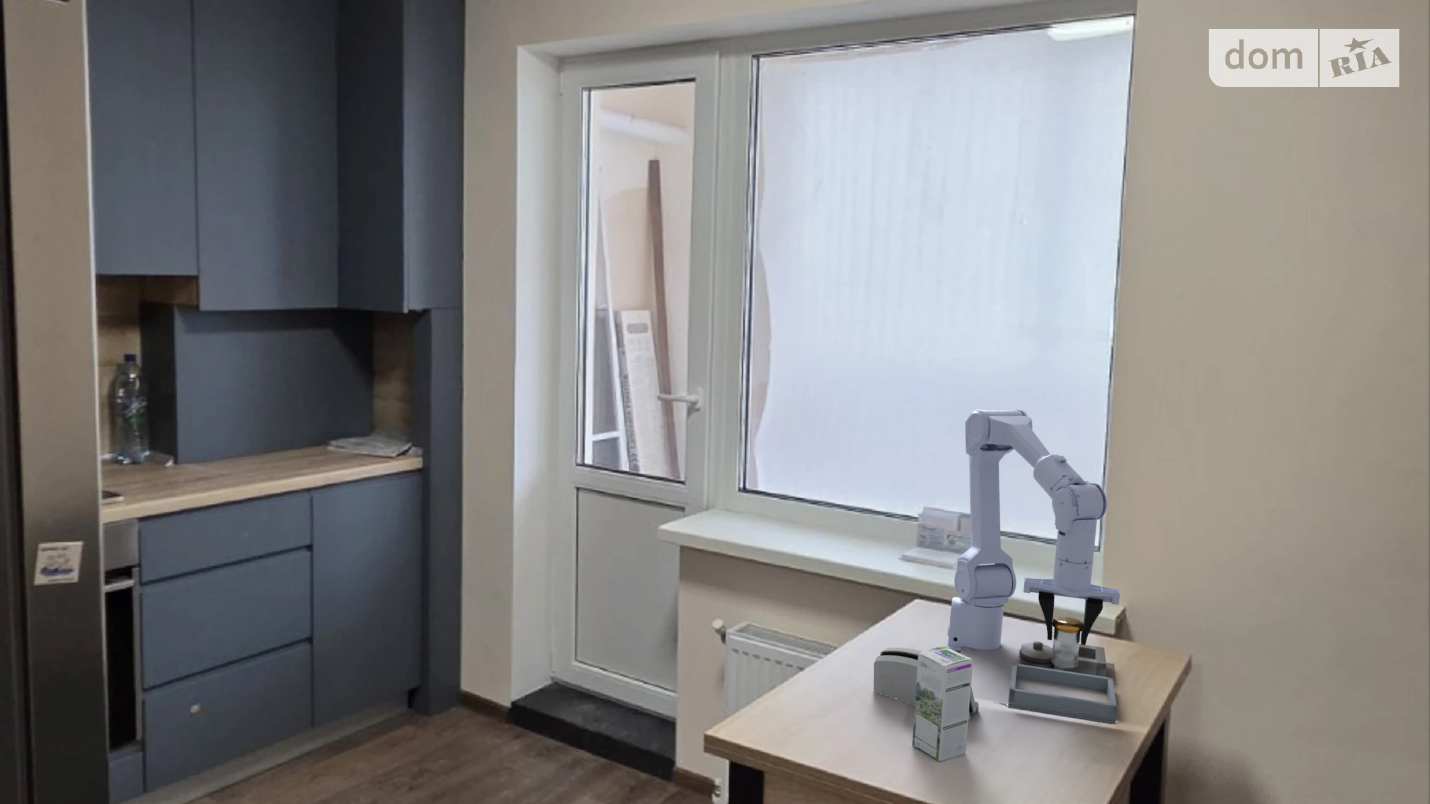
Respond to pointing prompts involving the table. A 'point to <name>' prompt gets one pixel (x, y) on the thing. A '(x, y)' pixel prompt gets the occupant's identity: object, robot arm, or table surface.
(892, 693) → the grey toaster
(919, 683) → the syrup box
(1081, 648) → the board
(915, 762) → the table surface
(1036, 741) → the table surface
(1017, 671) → the tray
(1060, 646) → the gold-rimmed cylinder
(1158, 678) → the table surface
